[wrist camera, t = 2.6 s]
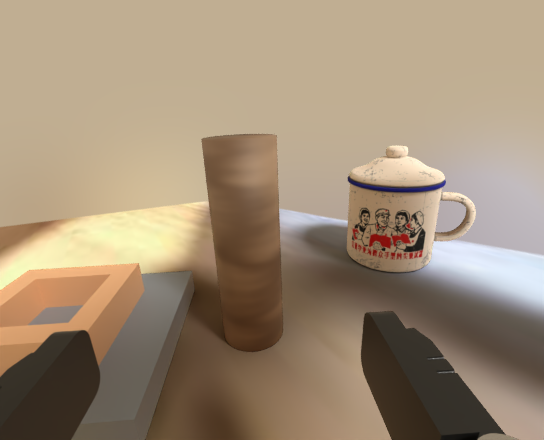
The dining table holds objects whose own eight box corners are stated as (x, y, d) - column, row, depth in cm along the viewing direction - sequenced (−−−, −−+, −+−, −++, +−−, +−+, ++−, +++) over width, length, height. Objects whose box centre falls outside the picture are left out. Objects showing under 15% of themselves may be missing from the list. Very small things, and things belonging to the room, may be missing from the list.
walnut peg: (280, 309, 25) (274, 132, 20) (285, 349, 20) (279, 138, 16) (226, 313, 24) (207, 136, 20) (221, 354, 20) (195, 142, 16)
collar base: (194, 289, 28) (188, 245, 26) (142, 448, 15) (123, 379, 13) (29, 300, 27) (12, 256, 26) (-181, 476, 14) (-240, 407, 13)
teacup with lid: (337, 266, 31) (341, 152, 27) (351, 234, 39) (356, 141, 35) (473, 288, 26) (503, 154, 22) (458, 246, 34) (478, 141, 30)
